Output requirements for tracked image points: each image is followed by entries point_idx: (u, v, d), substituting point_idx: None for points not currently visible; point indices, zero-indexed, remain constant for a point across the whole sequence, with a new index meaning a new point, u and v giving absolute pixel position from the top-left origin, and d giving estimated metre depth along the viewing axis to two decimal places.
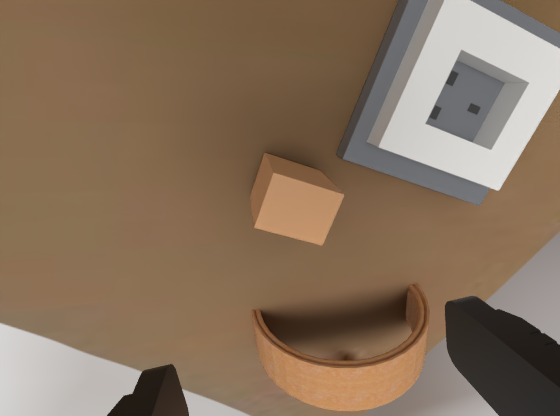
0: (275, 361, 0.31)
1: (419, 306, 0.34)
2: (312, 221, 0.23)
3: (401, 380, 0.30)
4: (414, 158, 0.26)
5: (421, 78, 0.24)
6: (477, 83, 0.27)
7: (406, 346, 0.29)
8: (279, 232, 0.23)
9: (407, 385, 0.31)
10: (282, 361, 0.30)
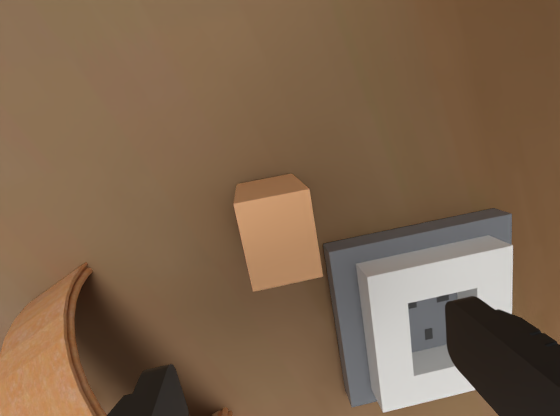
0: (37, 335, 0.21)
1: None
2: (275, 263, 0.19)
3: None
4: (373, 317, 0.24)
5: (441, 272, 0.24)
6: None
7: None
8: (243, 235, 0.18)
9: None
10: (47, 344, 0.20)
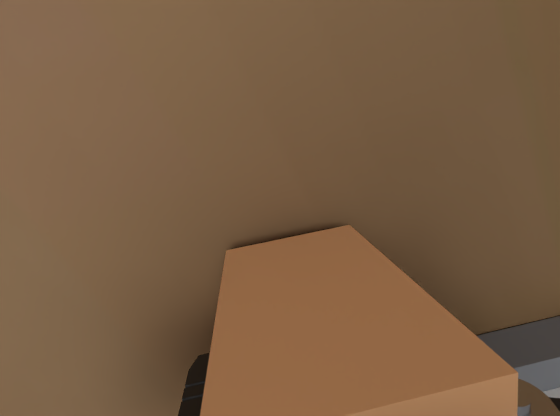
0: None
1: None
2: None
3: None
4: None
5: None
6: None
7: None
8: None
9: None
10: None
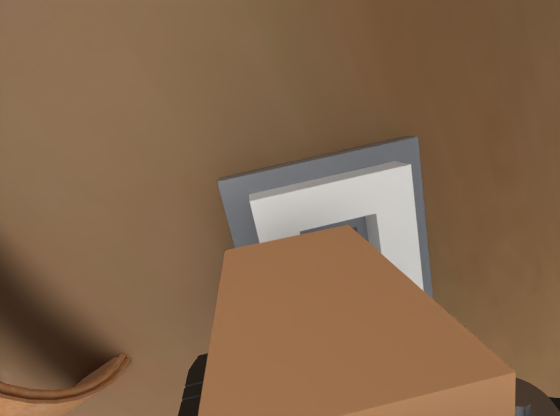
0: None
1: (98, 377, 0.24)
2: None
3: None
4: None
5: (333, 195, 0.22)
6: None
7: (16, 394, 0.19)
8: None
9: None
10: None
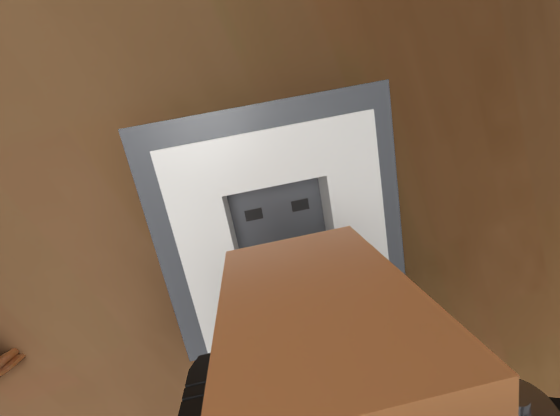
0: None
1: None
2: None
3: None
4: (171, 216, 0.17)
5: (267, 148, 0.16)
6: None
7: None
8: None
9: None
10: None
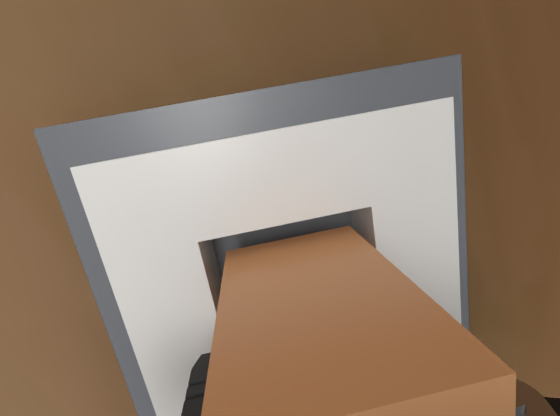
0: None
1: None
2: None
3: None
4: (112, 275, 0.10)
5: (275, 162, 0.10)
6: None
7: None
8: None
9: None
10: None
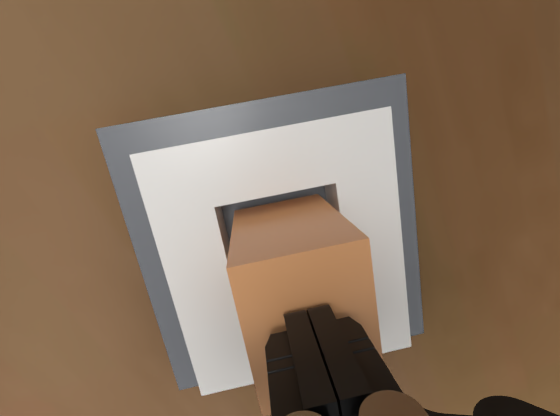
0: None
1: None
2: None
3: None
4: (155, 230, 0.14)
5: (267, 152, 0.14)
6: None
7: None
8: (244, 323, 0.10)
9: None
10: None
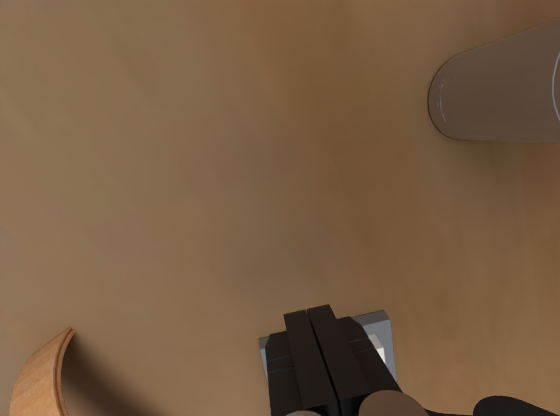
0: (36, 386, 0.30)
1: None
2: None
3: None
4: None
5: None
6: None
7: None
8: None
9: None
10: (42, 392, 0.30)
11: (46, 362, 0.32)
